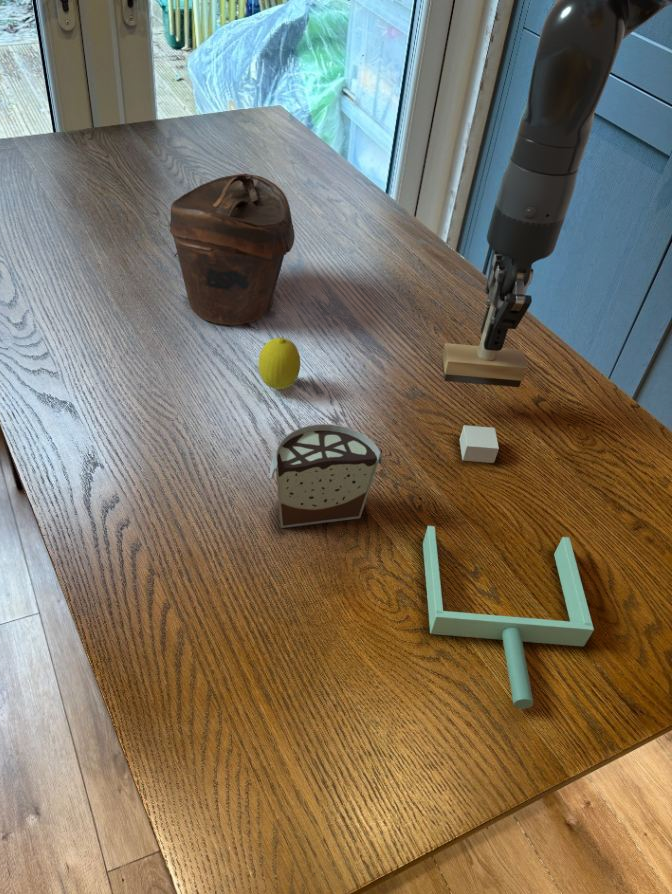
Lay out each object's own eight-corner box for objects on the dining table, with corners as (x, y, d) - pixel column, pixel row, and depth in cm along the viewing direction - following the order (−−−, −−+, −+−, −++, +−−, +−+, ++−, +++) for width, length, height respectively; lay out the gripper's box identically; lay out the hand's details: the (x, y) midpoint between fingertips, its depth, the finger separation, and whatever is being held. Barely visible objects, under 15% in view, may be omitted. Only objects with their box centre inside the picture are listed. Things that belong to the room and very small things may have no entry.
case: (267, 264, 125) (271, 153, 112) (306, 330, 112) (316, 213, 99) (161, 276, 121) (153, 162, 108) (189, 346, 108) (183, 226, 95)
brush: (440, 363, 98) (457, 293, 91) (516, 370, 98) (539, 300, 91) (442, 382, 95) (460, 311, 88) (521, 388, 95) (545, 318, 88)
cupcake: (357, 479, 91) (369, 415, 83) (372, 516, 87) (385, 452, 79) (257, 491, 88) (260, 426, 81) (268, 529, 84) (271, 464, 77)
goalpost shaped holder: (422, 543, 84) (427, 525, 82) (560, 554, 84) (569, 537, 82) (436, 705, 70) (442, 688, 68) (601, 718, 70) (613, 703, 68)
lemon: (285, 406, 100) (288, 356, 94) (250, 391, 101) (251, 341, 95) (305, 385, 103) (310, 335, 97) (270, 371, 105) (273, 321, 99)
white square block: (459, 439, 97) (463, 424, 95) (490, 442, 97) (495, 427, 95) (462, 460, 94) (466, 445, 92) (494, 463, 94) (499, 448, 92)
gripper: (579, 238, 76) (529, 378, 88) (554, 180, 85) (512, 314, 98) (505, 232, 76) (466, 372, 88) (488, 174, 85) (455, 309, 98)
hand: (490, 341), depth 93 cm, fingers closed on brush, 2 cm apart
